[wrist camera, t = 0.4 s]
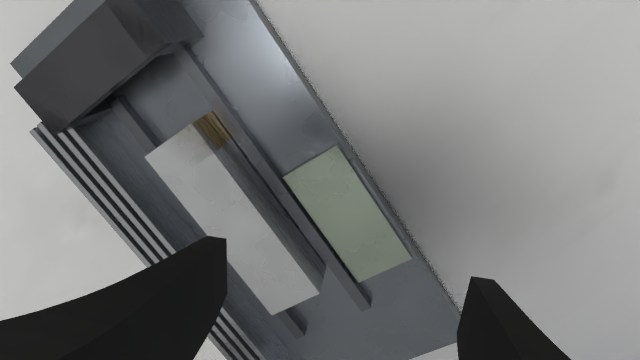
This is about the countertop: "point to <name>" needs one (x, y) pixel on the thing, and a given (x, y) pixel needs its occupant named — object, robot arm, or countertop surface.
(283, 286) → the rectangular block
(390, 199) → the countertop surface
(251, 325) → the heatsink base
